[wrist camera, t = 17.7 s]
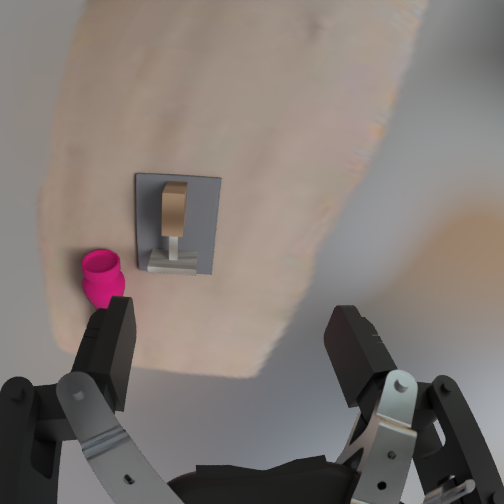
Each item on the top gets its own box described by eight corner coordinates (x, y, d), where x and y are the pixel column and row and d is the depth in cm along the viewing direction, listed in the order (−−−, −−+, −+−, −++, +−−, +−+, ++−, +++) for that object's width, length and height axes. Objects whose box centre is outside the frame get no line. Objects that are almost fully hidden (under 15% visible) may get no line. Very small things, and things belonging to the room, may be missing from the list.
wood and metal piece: (153, 180, 39) (146, 192, 35) (202, 183, 40) (201, 195, 36) (153, 254, 45) (147, 272, 41) (197, 256, 46) (196, 275, 42)
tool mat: (137, 172, 39) (136, 173, 38) (221, 177, 41) (221, 179, 40) (139, 268, 46) (139, 270, 46) (211, 272, 49) (211, 274, 48)
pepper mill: (68, 266, 38) (91, 349, 49) (104, 281, 37) (122, 364, 48) (96, 242, 44) (110, 325, 55) (131, 255, 43) (140, 338, 54)
